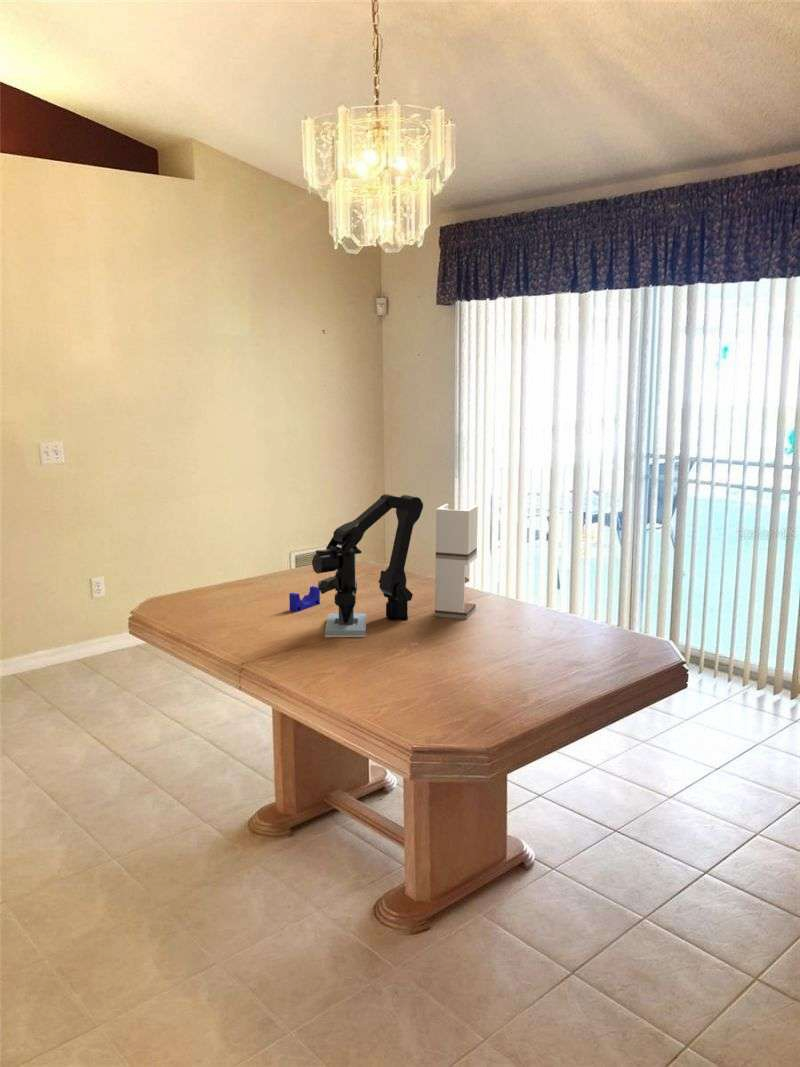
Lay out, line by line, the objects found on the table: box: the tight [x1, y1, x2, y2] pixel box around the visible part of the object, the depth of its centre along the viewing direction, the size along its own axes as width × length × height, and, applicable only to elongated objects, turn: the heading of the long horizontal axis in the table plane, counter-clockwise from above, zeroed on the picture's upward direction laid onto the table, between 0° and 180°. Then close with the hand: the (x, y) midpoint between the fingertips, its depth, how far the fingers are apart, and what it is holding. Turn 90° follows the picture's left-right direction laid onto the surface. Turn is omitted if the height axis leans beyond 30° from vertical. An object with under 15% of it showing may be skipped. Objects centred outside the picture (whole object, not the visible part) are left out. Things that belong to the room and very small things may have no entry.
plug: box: [338, 606, 355, 625], centre depth 267 cm, size 4×4×7 cm
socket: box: [324, 612, 367, 638], centre depth 268 cm, size 12×18×2 cm, turn 1°
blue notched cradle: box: [288, 585, 321, 613], centre depth 290 cm, size 12×4×6 cm, turn 146°
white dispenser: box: [434, 503, 479, 620], centre depth 281 cm, size 11×11×35 cm
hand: (346, 618), depth 267 cm, fingers open, 9 cm apart
